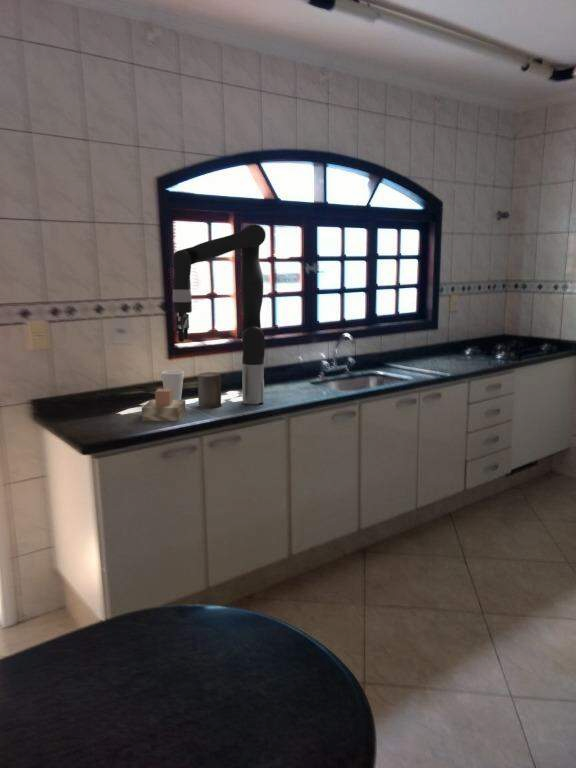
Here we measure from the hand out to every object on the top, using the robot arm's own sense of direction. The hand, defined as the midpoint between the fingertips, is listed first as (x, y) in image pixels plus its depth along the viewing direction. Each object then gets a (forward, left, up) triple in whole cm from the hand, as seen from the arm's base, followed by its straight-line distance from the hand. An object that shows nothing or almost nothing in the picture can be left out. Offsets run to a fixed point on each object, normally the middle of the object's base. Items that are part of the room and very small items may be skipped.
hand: (183, 340), depth 236 cm
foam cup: (+7, -10, -28) cm, 31 cm away
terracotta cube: (+5, +16, -23) cm, 29 cm away
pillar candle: (-10, -3, -28) cm, 30 cm away
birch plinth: (+5, +16, -28) cm, 33 cm away
